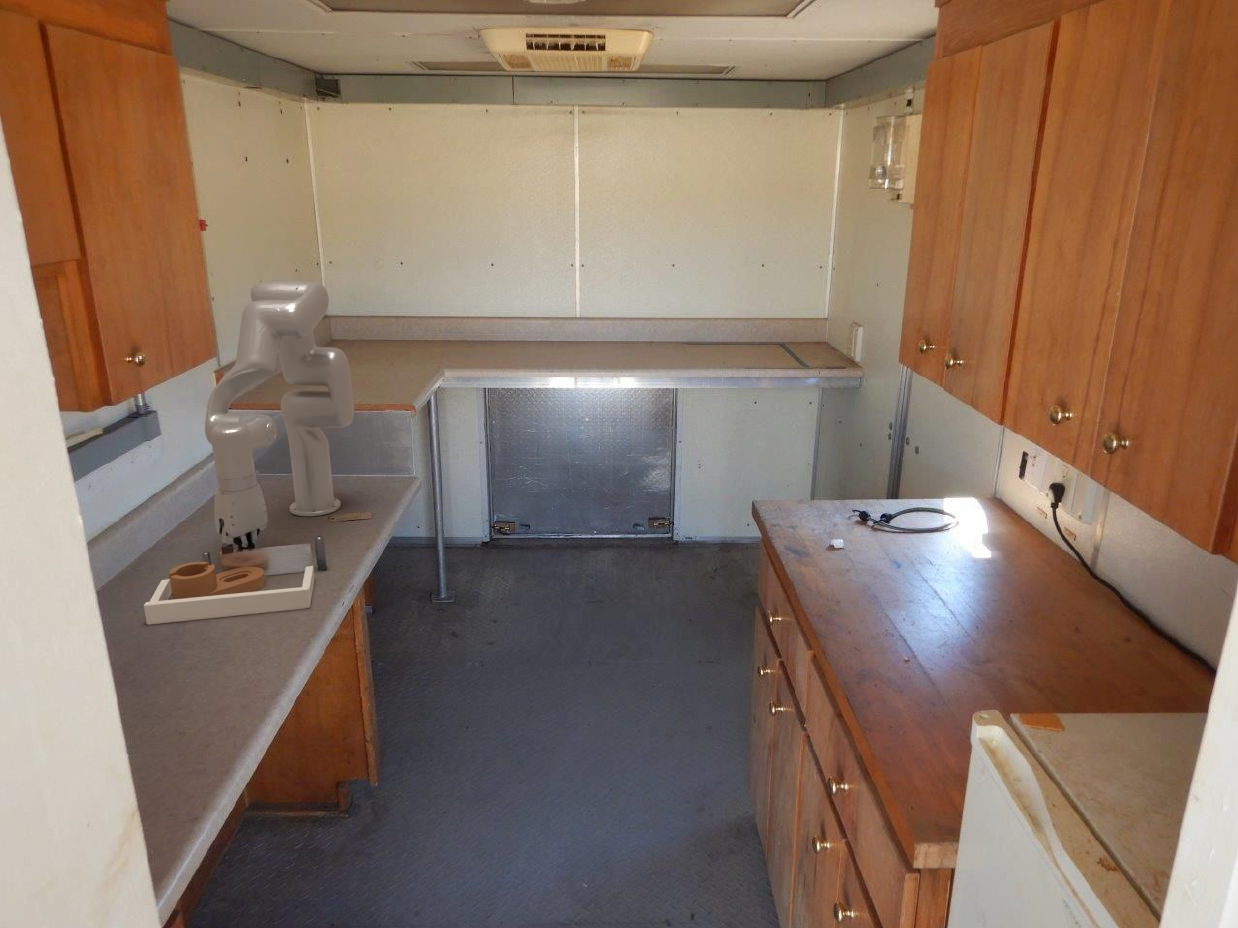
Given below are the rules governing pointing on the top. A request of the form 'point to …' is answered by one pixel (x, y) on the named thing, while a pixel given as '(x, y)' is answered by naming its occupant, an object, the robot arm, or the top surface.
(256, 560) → the gate
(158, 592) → the white u-shaped frame
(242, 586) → the bracket
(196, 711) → the top surface
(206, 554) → the post
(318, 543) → the hinge post
